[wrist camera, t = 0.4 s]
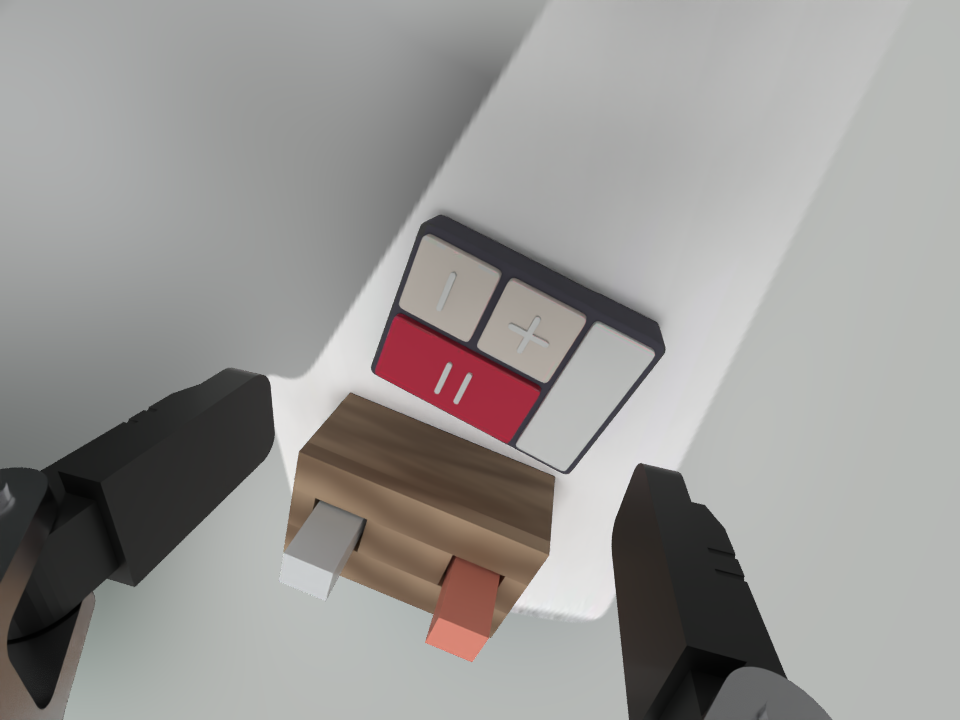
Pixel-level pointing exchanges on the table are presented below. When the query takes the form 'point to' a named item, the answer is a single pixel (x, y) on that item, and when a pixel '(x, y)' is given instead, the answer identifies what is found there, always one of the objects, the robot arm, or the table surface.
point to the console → (424, 504)
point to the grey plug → (321, 550)
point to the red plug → (464, 609)
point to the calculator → (512, 345)
